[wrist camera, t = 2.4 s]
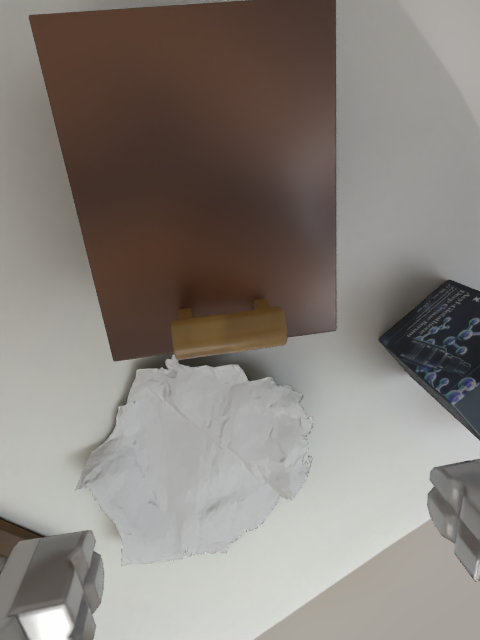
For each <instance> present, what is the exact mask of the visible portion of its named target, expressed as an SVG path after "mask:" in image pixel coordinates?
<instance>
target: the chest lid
mask: <svg viewBox="0 0 480 640" xmlns="http://www.w3.org/2000/svg"><path fill="white" fill-rule="evenodd" d="M29 20H30V24H31V28H32V33H33V37H34V41H35V45H36V49H37V53H38V57H39V61H40V65H41V69H42V73H43V77H44V81H45V85H46V89H47V93H48V97H49V101H50V105H51V110H52V114H53V118H54V122H55V126H56V130H57V134H58V138H59V142H60V146H61V150H62V154H63V158H64V162H65V166H66V170H67V174H68V178H69V182H70V187H71V191H72V195H73V199H74V203H75V207H76V211H77V215H78V219H79V223H80V227H81V231H82V235H83V239H84V243H85V247H86V251H87V255H88V259H89V264H90V268H91V272H92V276H93V280H94V284H95V288H96V292H97V296H98V300H99V304H100V308H101V312H102V316H103V320H104V324H105V328H106V332H107V336H108V341H109V345H110V349H111V353H112V357H113V360H114V361H122V360H129V359H136V358H143V357H150V356H158V355H165V354H172V353H174V354H175V358H176V359H177V360H183V359H190V358H197V357H204V356H211V355H219V354H226V353H233V352H240V351H247V350H254V349H261V348H268V347H275V346H283V345H285V344H286V342H287V337H294V336H302V335H309V334H316V333H323V332H330V331H336V0H248V1H233V2H218V3H203V4H188V5H173V6H158V7H143V8H128V9H113V10H98V11H83V12H68V13H53V14H38V15H29Z"/></svg>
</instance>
